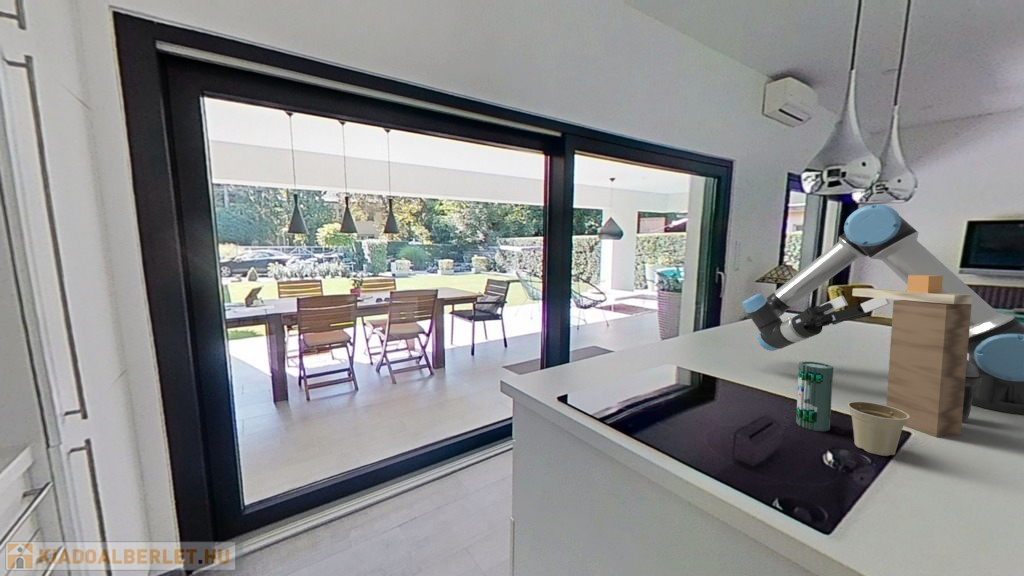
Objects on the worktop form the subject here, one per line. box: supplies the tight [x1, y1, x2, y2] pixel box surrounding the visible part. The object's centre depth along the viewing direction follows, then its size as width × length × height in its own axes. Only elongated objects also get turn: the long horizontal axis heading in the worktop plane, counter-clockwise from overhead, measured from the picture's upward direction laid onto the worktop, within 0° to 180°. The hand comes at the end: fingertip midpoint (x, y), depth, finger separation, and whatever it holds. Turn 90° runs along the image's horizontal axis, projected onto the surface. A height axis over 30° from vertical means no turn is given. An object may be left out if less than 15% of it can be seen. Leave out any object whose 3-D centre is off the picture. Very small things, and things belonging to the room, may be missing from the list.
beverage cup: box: [962, 359, 980, 424], centre depth 93 cm, size 7×7×20 cm
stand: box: [885, 299, 972, 438], centre depth 89 cm, size 7×10×30 cm
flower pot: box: [847, 400, 910, 457], centre depth 79 cm, size 9×9×9 cm
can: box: [795, 360, 834, 432], centre depth 90 cm, size 6×6×15 cm
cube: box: [906, 275, 943, 293], centre depth 89 cm, size 4×4×4 cm
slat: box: [851, 287, 972, 304], centre depth 93 cm, size 5×21×2 cm, turn 9°
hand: (865, 299), depth 101 cm, fingers open, 13 cm apart
